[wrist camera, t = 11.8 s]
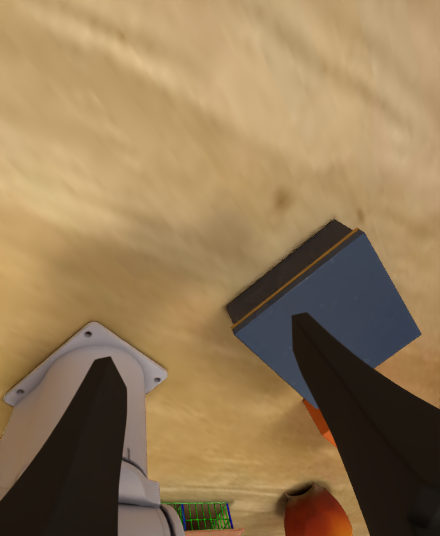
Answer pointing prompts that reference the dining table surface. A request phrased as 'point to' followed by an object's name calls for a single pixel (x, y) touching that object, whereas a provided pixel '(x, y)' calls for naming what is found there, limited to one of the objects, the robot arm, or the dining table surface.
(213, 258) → the dining table surface
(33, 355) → the dining table surface
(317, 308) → the biscuit tin
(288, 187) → the dining table surface
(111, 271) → the dining table surface
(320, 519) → the fruit
